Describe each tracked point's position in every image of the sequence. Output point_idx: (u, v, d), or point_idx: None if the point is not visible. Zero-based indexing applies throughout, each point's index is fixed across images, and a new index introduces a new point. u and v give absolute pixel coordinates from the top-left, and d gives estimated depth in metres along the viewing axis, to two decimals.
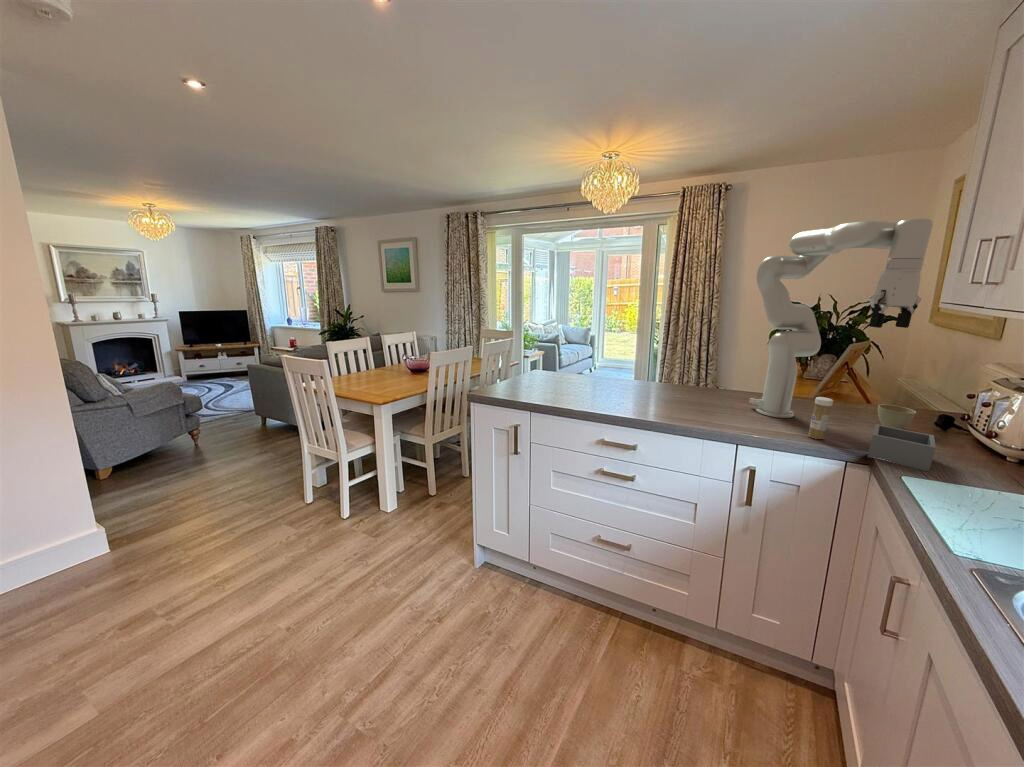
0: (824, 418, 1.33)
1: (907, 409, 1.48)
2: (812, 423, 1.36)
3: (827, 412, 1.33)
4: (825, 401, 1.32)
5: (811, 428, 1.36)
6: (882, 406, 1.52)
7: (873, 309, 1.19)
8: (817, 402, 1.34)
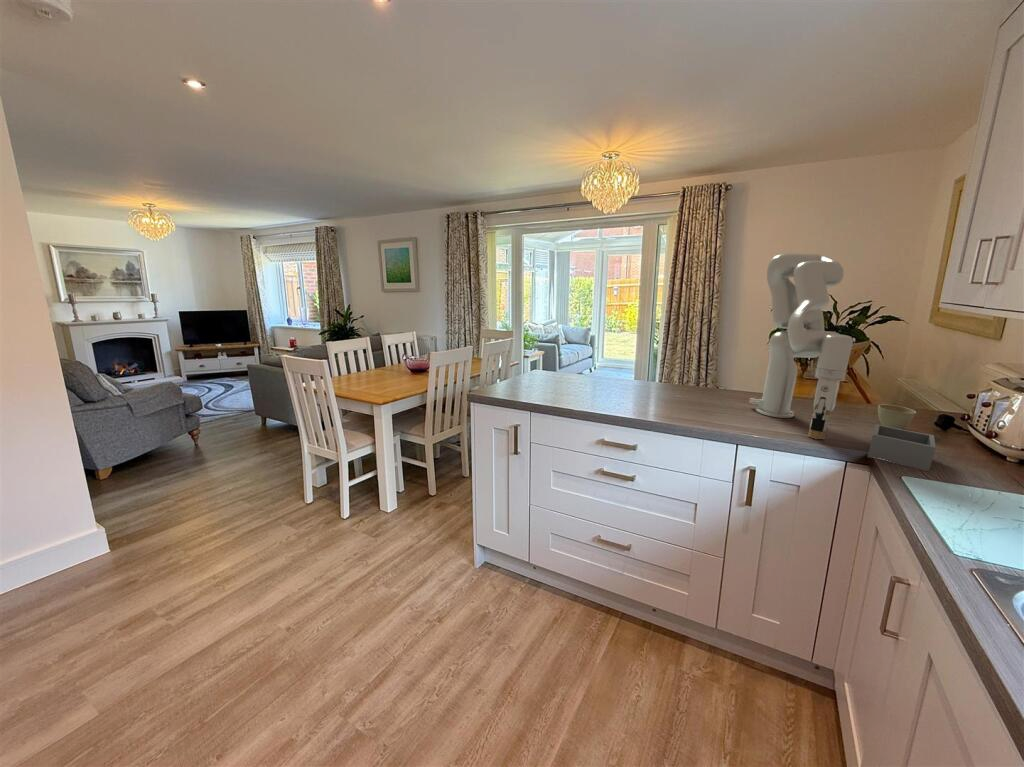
0: None
1: (907, 409, 1.48)
2: None
3: (827, 412, 1.33)
4: None
5: None
6: (882, 406, 1.52)
7: None
8: None
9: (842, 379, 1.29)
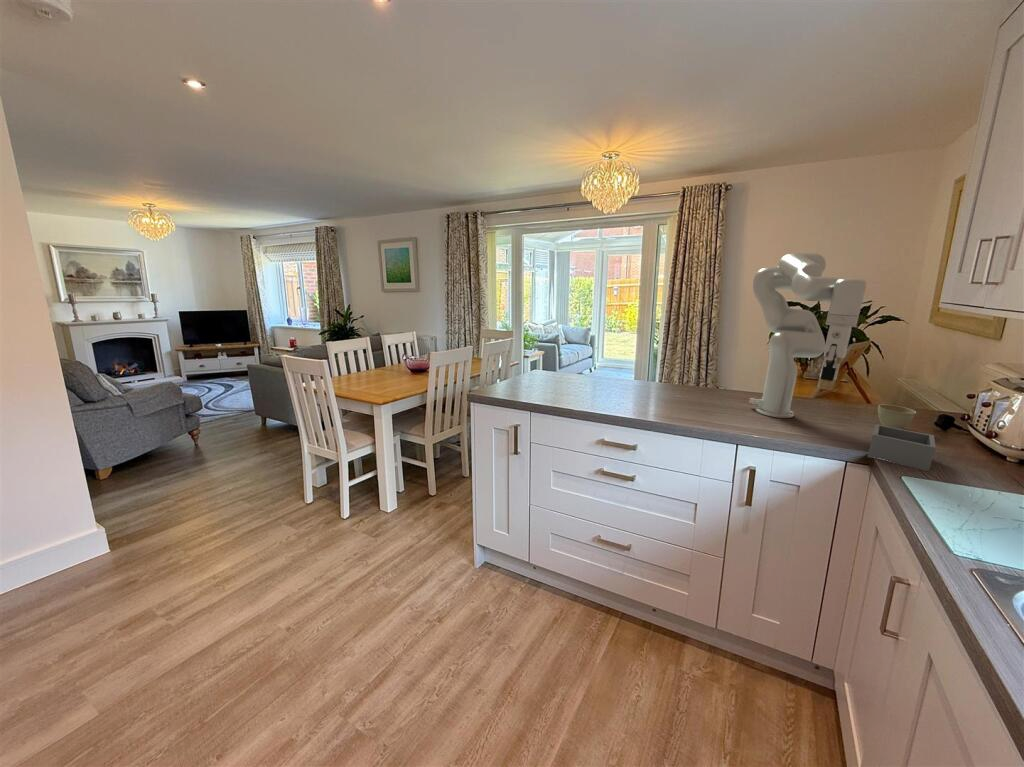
0: None
1: (907, 409, 1.48)
2: None
3: (838, 360, 1.29)
4: None
5: None
6: (882, 406, 1.52)
7: None
8: None
9: (854, 325, 1.25)
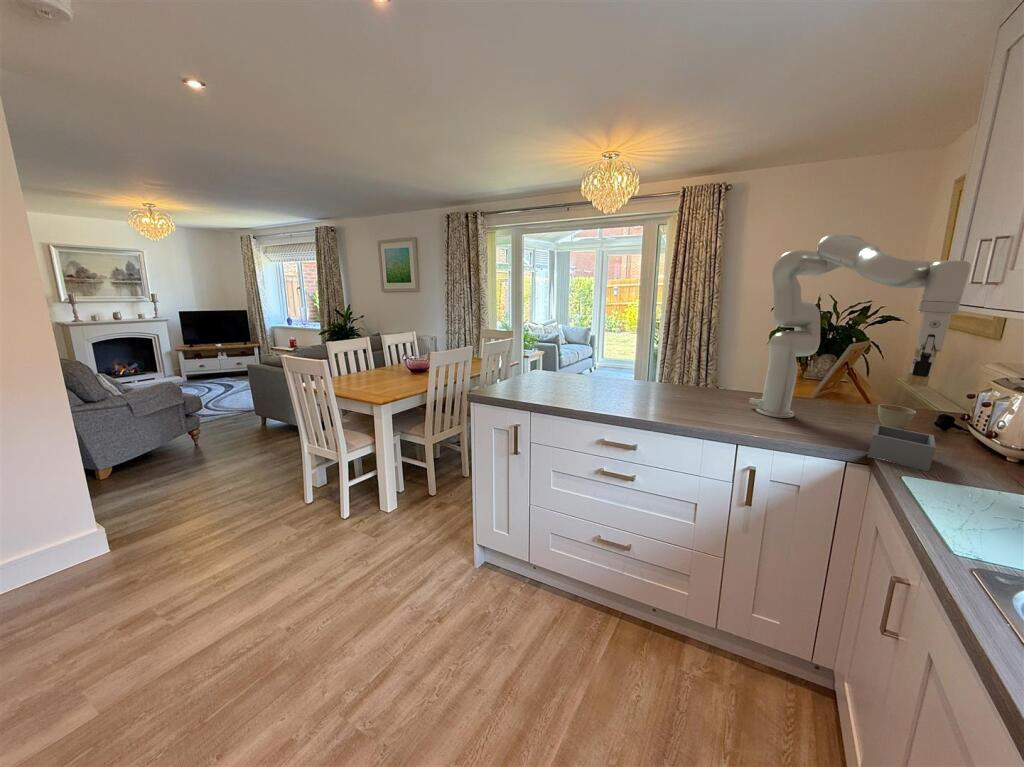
0: None
1: (907, 409, 1.48)
2: (913, 368, 1.17)
3: (934, 353, 1.13)
4: None
5: None
6: (882, 406, 1.52)
7: None
8: None
9: (955, 313, 1.09)
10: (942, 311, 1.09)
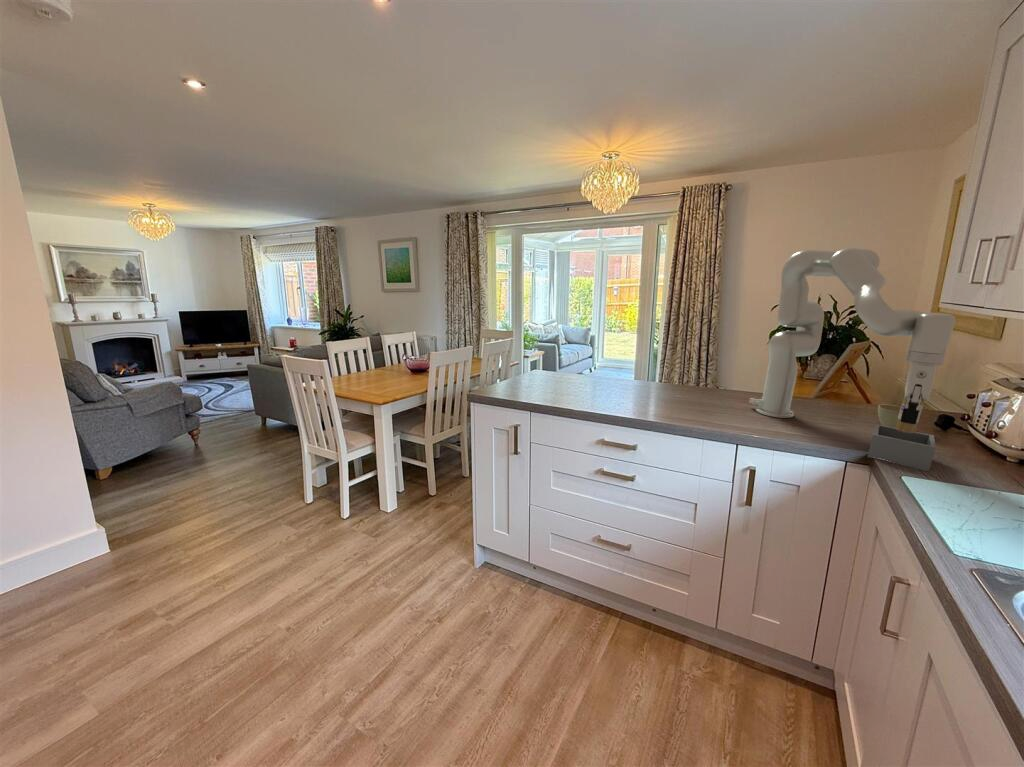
0: None
1: None
2: None
3: (921, 402, 1.17)
4: None
5: (900, 420, 1.20)
6: (882, 406, 1.52)
7: None
8: None
9: (941, 364, 1.13)
10: (928, 362, 1.13)
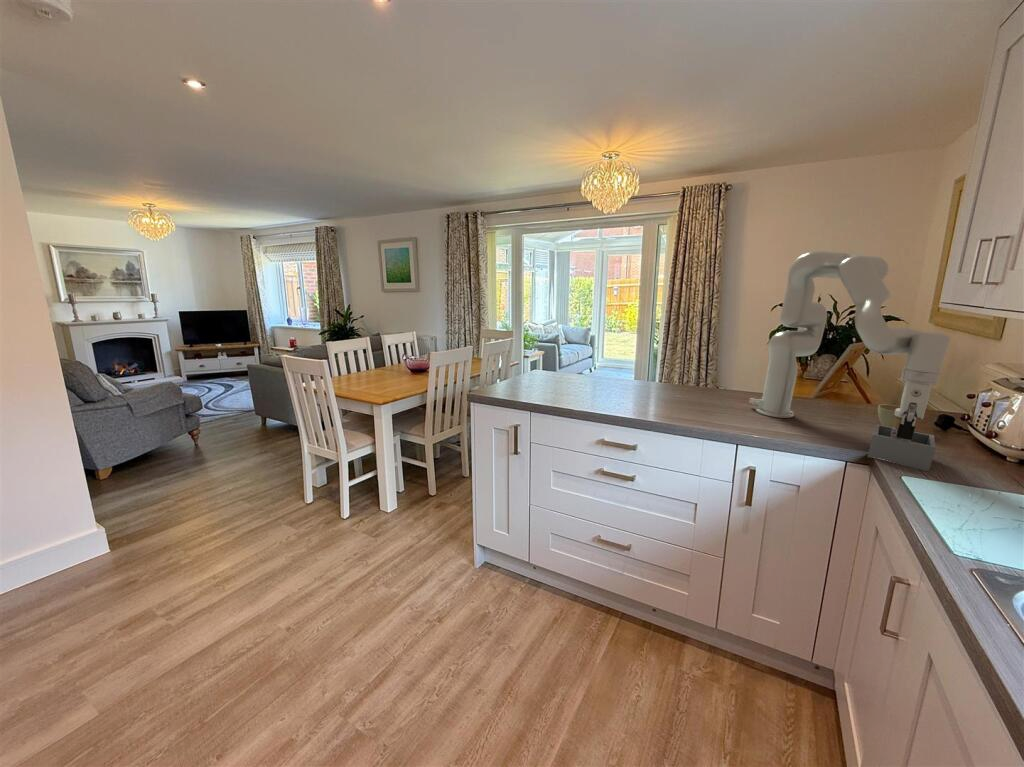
0: None
1: None
2: None
3: None
4: None
5: None
6: (882, 406, 1.52)
7: None
8: (898, 415, 1.20)
9: (936, 382, 1.14)
10: (923, 381, 1.14)
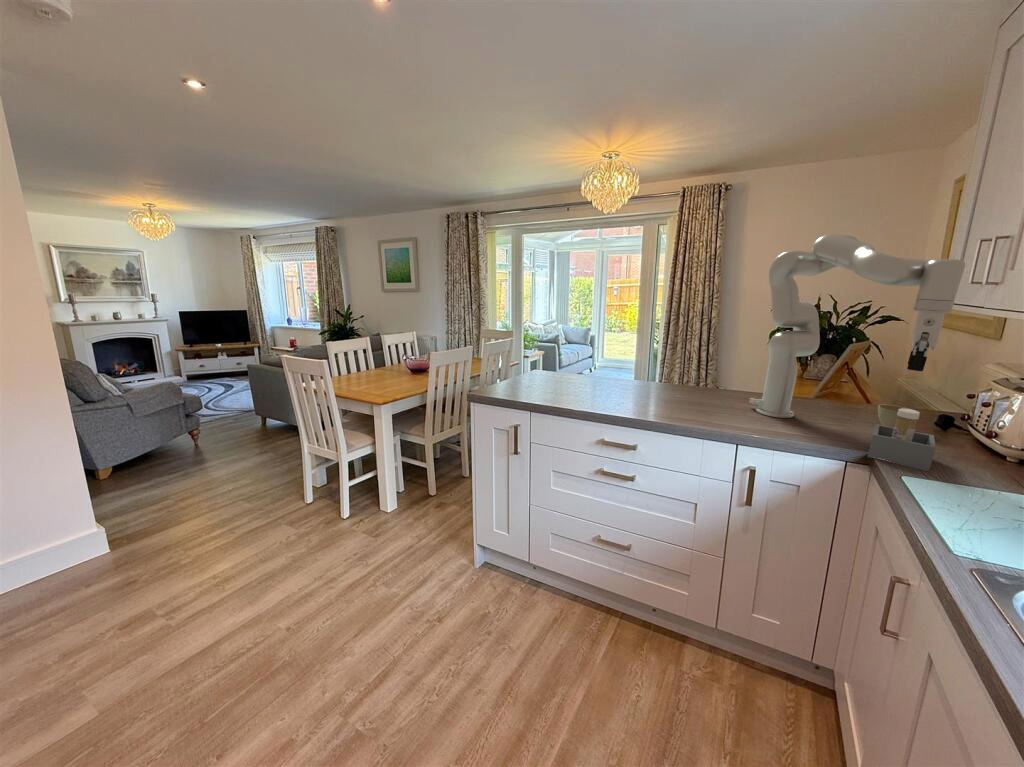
0: (909, 433, 1.19)
1: None
2: None
3: (913, 426, 1.19)
4: (911, 414, 1.18)
5: None
6: (882, 406, 1.52)
7: None
8: (901, 415, 1.20)
9: (949, 311, 1.11)
10: (936, 309, 1.11)
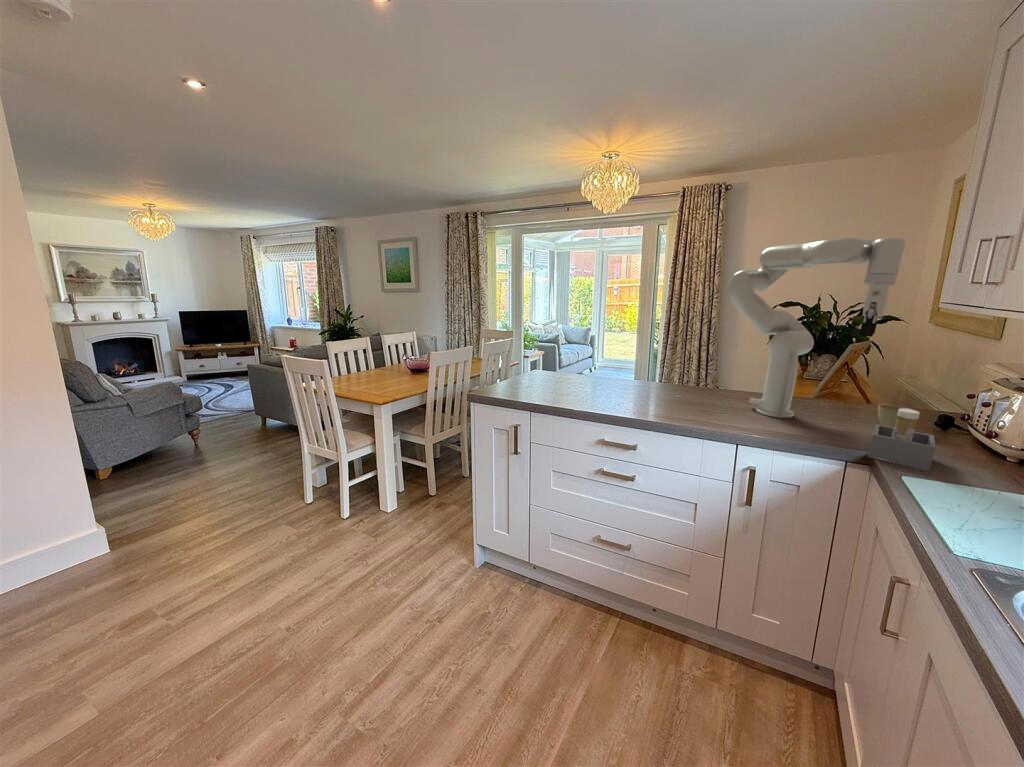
0: (909, 433, 1.19)
1: None
2: None
3: (913, 426, 1.19)
4: (911, 414, 1.18)
5: None
6: (882, 406, 1.52)
7: None
8: (901, 415, 1.19)
9: (893, 283, 1.27)
10: (882, 282, 1.27)
